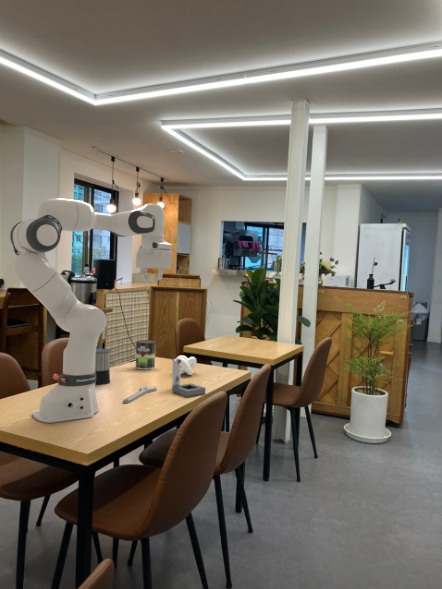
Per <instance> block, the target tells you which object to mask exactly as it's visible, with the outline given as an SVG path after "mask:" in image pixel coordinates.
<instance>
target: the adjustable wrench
mask: <svg viewBox="0 0 442 589" xmlns="http://www.w3.org/2000/svg"><path fill="white" fill-rule="evenodd" d="M156 391H157V386H156V385H153V387H148V385H144V386H141V387H139V391H137V392H135V393H134V394H132V395H130V396H128V397H126V398H124V399H122V404H124V405H125V404H130V403H132V402H134V401H135V400H137V399H138V398H140V397H143V396H144V395H146V394H148V393H153V392H156Z"/></svg>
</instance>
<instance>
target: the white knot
mask: <svg viewBox="0 0 442 589" xmlns="http://www.w3.org/2000/svg"><path fill="white" fill-rule="evenodd" d="M175 359H181V368H180V376H181V375H183V374H187V375H188V376H192V375H193V374H194V371H193V369H194V368H195V367H196V364H197V358H196V357H195V356H190V357H189V358H188V357H187V356H186V355H178V356H176V358H175Z"/></svg>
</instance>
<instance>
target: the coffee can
mask: <svg viewBox="0 0 442 589" xmlns="http://www.w3.org/2000/svg"><path fill="white" fill-rule="evenodd" d="M135 343H136V344H135V345H136V346H135V369H138V370H153V369H155V368H156V343H157V342H156V340H151V339H140V340H139V339H138V340H136V341H135Z"/></svg>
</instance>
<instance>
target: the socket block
mask: <svg viewBox="0 0 442 589" xmlns="http://www.w3.org/2000/svg"><path fill="white" fill-rule="evenodd" d="M171 389H172V390H171V391H172V393H173V394H177V395H179V396H182V397H184V398H190V397H191V398H192V397H195V396H200V395H205V394H206V387H203V386H200V385H198V384H194V383H191V382H190V383H185V384H180V385H179V386H173V388H172V387H171Z"/></svg>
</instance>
